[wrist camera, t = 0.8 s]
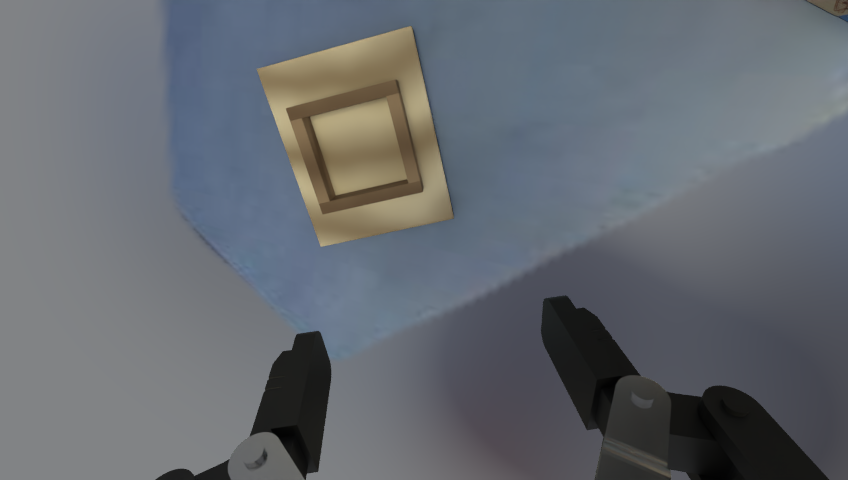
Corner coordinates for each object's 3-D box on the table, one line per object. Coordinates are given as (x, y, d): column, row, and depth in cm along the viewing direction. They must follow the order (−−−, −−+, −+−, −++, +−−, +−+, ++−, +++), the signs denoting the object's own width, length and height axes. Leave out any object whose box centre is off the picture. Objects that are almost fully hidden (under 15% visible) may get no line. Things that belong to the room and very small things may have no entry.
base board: (264, 70, 32) (244, 67, 29) (412, 29, 30) (409, 21, 27) (325, 241, 37) (314, 255, 34) (453, 213, 36) (454, 225, 33)
